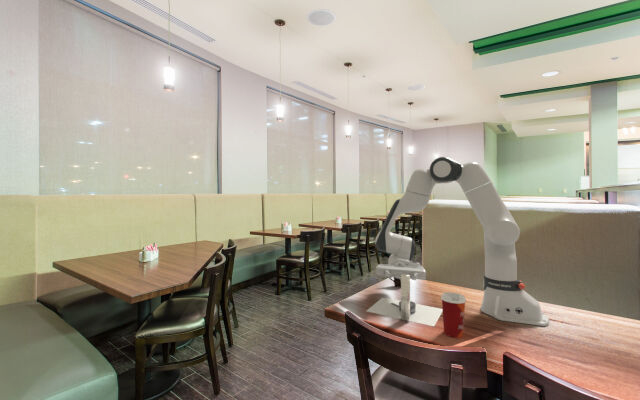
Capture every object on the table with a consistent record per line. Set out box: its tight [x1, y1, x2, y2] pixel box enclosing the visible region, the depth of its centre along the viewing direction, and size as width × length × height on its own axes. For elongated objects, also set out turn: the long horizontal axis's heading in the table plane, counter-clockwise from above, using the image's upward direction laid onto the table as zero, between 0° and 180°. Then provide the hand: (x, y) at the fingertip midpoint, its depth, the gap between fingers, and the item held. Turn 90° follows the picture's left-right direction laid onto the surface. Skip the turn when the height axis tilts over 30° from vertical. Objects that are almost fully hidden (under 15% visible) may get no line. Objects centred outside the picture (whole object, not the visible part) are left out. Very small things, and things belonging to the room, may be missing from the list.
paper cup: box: [440, 291, 467, 339], centre depth 97 cm, size 8×8×14 cm
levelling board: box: [366, 297, 443, 327], centre depth 117 cm, size 26×19×2 cm
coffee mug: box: [388, 277, 401, 288], centre depth 152 cm, size 12×9×10 cm
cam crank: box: [399, 274, 417, 322], centre depth 115 cm, size 21×6×17 cm, turn 160°
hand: (401, 277), depth 116 cm, fingers open, 8 cm apart
